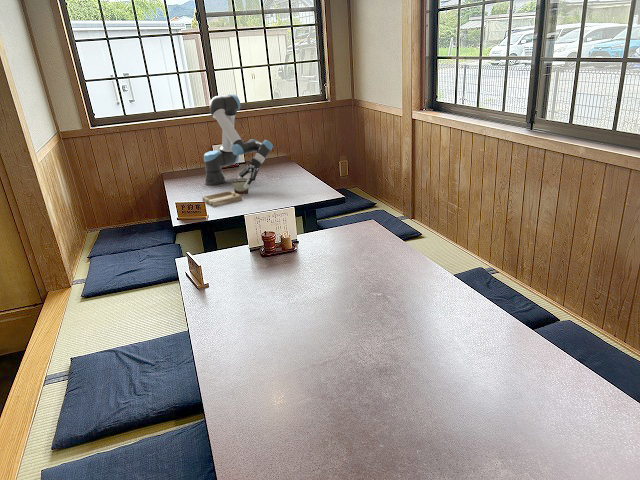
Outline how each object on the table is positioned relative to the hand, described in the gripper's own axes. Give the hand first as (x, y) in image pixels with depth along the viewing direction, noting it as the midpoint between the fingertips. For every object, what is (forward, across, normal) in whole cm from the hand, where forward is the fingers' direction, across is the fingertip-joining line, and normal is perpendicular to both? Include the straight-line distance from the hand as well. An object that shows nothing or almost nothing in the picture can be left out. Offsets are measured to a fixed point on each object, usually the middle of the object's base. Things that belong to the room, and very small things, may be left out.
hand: (240, 186), depth 328 cm
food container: (+3, 0, -5) cm, 6 cm away
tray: (+15, -6, +8) cm, 18 cm away
